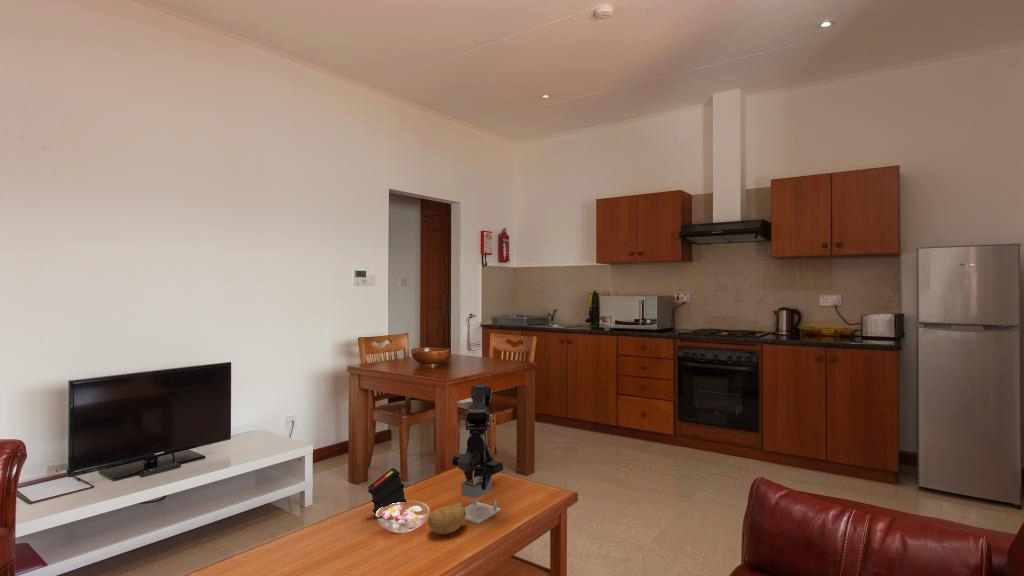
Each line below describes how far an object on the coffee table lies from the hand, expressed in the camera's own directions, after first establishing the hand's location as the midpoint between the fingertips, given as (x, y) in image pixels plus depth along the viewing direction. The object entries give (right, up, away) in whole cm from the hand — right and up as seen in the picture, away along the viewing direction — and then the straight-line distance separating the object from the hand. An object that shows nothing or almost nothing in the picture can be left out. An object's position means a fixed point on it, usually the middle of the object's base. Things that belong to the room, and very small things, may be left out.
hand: (477, 487), depth 186 cm
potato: (-9, -9, -15) cm, 19 cm away
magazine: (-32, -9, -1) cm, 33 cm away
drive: (0, -2, 0) cm, 2 cm away
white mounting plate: (0, -9, 0) cm, 9 cm away
